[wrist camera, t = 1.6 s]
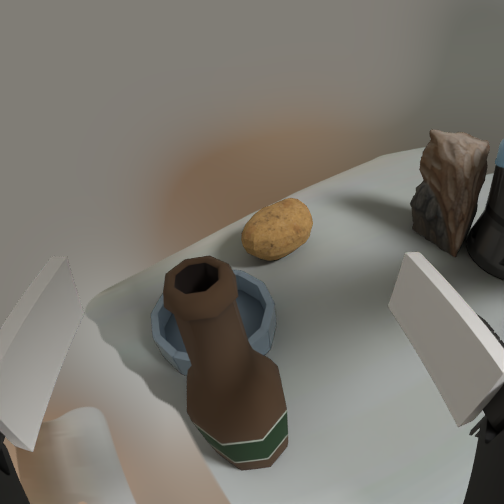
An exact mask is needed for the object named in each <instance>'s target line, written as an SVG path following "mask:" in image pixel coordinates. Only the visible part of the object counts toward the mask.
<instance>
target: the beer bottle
mask: <svg viewBox="0 0 504 504" xmlns="http://www.w3.org/2000/svg"><path fill="white" fill-rule="evenodd" d="M237 297H238V290H237V282H236V275H235V274H234V272H233V270H232V269H231V267H230V266H229V264H227V263H225V262H223V261H221V260H218V259H216V258H214V257H212V256H204V257H198V258H191V259H185V260H183V261H182V262H181V263H179V264H178V265H177V266H175V267H174V268H173V269H172V270H170V271H169V272H168V273H166V276H165V282H164V290H163V300H164V308H166V309H167V310H168V311H170V312H171V313H173V314H174V316H175V319H176V322H177V325H178V328H179V331H180V334H181V337H182V340H183V343H184V345H185V348H186V351H187V354H188V357H189V359H190V362H191V365H192V366H191V367H190V368H189V369H188V373H187V413H188V415H189V417H190V419H191V420H192V422H193V423H194V425H195V426H196V427H197V428H198V430H199V431H200V432H201V434H202V435H203V436H204V437H205V439H206V440H207V441H208V442H209V443H210V445H211V446H212V447H213V448H214V449H215V451H216V452H217V453H219V454H220V455H221V456H222V457H224V458H225V459H226V460H228V461H229V462H231V463H232V464H233V465H235V466H236V467H238V468H239V469H241V470H251V469H259V468H266V467H271V466H272V464H273V463H274V462H275V461H276V460H277V458H278V457H279V456H280V455H281V454H282V452H283V451H284V450H285V449H286V447H287V445H288V425H287V408H286V403H285V398H284V393H283V388H282V383H281V378H280V374H279V370H278V366H277V365H276V364H275V363H274V362H273V361H272V360H271V359H269V358H267V357H266V356H264V355H262V354H260V353H259V352H257V351H255V350H253V349H252V347H251V345H250V343H249V341H248V338H247V335H246V332H245V329H244V325H243V322H242V319H241V316H240V312H239V309H238V306H237V302H236V298H237Z"/></svg>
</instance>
